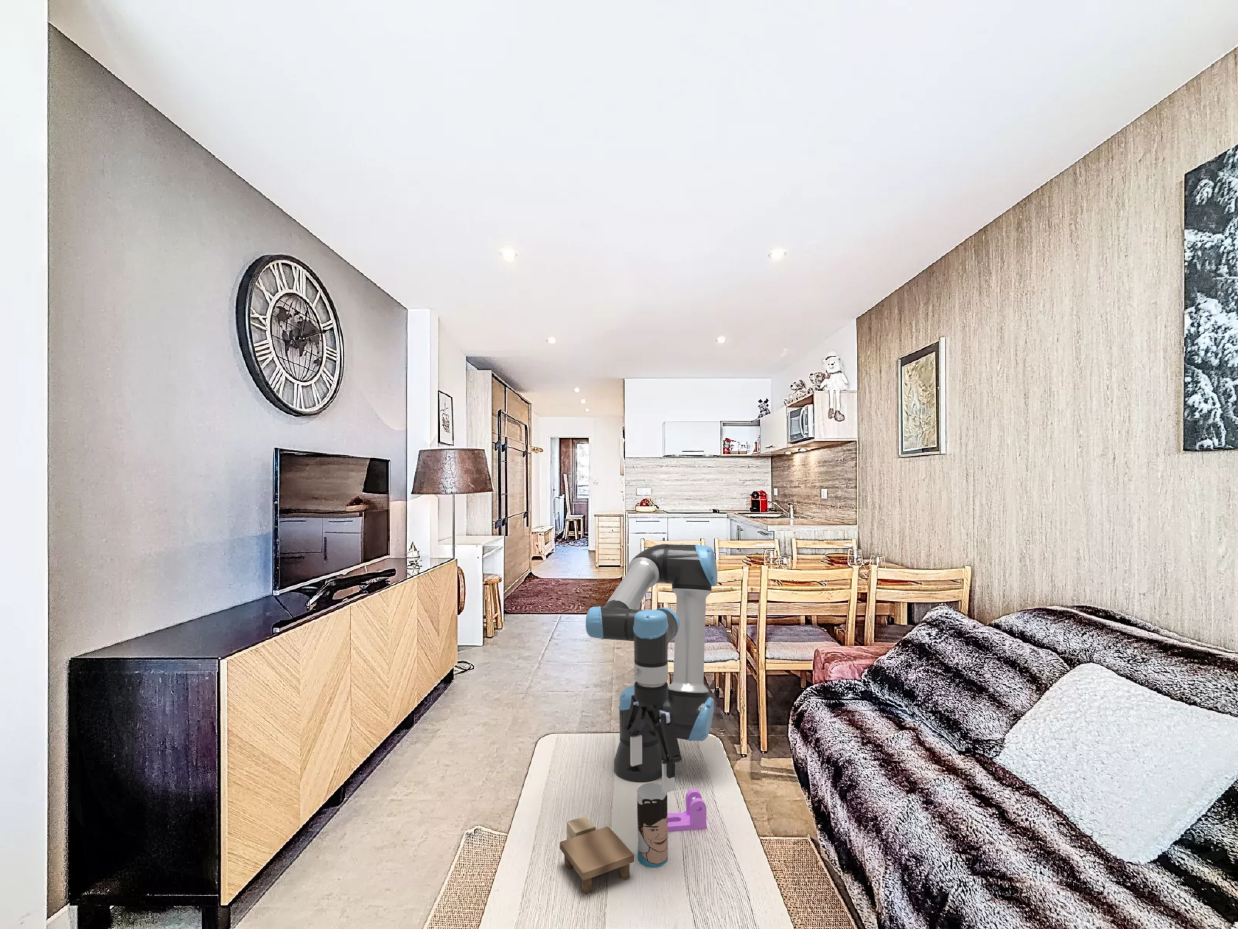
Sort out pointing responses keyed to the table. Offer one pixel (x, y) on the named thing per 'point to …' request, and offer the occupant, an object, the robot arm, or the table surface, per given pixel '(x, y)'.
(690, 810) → the bracket
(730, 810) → the table surface
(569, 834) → the oak block
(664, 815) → the printed can
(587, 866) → the stand
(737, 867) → the table surface
